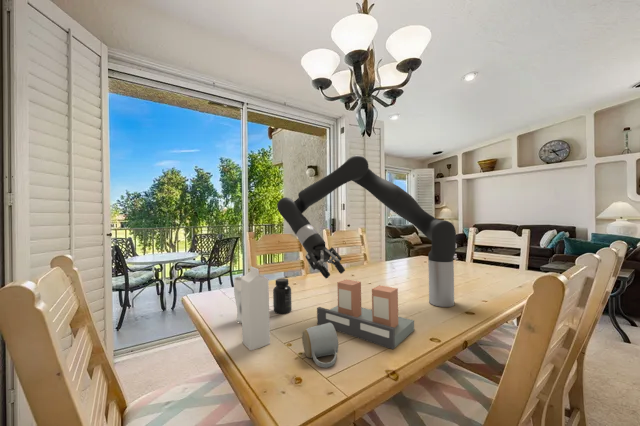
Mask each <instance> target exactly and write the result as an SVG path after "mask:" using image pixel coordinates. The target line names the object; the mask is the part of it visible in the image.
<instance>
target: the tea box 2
mask: <svg viewBox="0 0 640 426" xmlns="http://www.w3.org/2000/svg"><path fill="white" fill-rule="evenodd" d="M398 291H399V288H397V287H391V286H385V285H381V284H379V285H378V286H375V287H373V288H371V305H372V306H371V308H372V309H371V310H372V322H376V323H379V324H383V325H387V326H390V327H394V328H395V327H396V326H397V325H398V317H399V292H398Z"/></svg>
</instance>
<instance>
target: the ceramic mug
mask: <svg viewBox="0 0 640 426" xmlns="http://www.w3.org/2000/svg"><path fill="white" fill-rule="evenodd" d="M301 337H302V338H301V339H302V346H303V347H302V348H303V352H304V354H305V355H306V357H307V358H308V359H313V361H314V363H315V364H316V365H317V366H318V367H320V368H325V369H326V368H331V367H333V366H334V365H335V363H336V362H337V354H338V353H339V339H338V338H339V337H338V335H337V331H336V330H335V328H334V326H333V324H332V323H326V324H322V325H318V324H317V325H315V326H310V327H308V328H306V329H304V330H303V331H302V333H301ZM332 355H334V357H333V359H332V360H331V361H329V362H322V361H320V360H319V359H318V358H319V357H326V356H327V357H328V356H332Z"/></svg>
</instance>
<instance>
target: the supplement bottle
mask: <svg viewBox="0 0 640 426" xmlns="http://www.w3.org/2000/svg"><path fill="white" fill-rule="evenodd" d="M289 284H290V283H289V279H288V278H285V277H283V278H282V277H281V278H276V279H275V286H274V288H273V290H272V292H273V293H272V295H273V296H272V297H273V298H272V299H273V302H272V303H273V307H272V308H273V312H274V313H275V314H278V315H286V314H289V313H290V312H291V311H292V307H293V305H292V303H293V302H292V288H291V286H290V285H289Z"/></svg>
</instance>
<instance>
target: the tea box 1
mask: <svg viewBox="0 0 640 426" xmlns="http://www.w3.org/2000/svg"><path fill="white" fill-rule="evenodd" d="M337 306H338V312H340V313H343V314H347V315H350V316H354V317H359V316H360V315H362V312H361V307H362V282H361V281H358V280H352V279H347V278H345V279H343V280H341V281H338V282H337Z"/></svg>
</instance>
